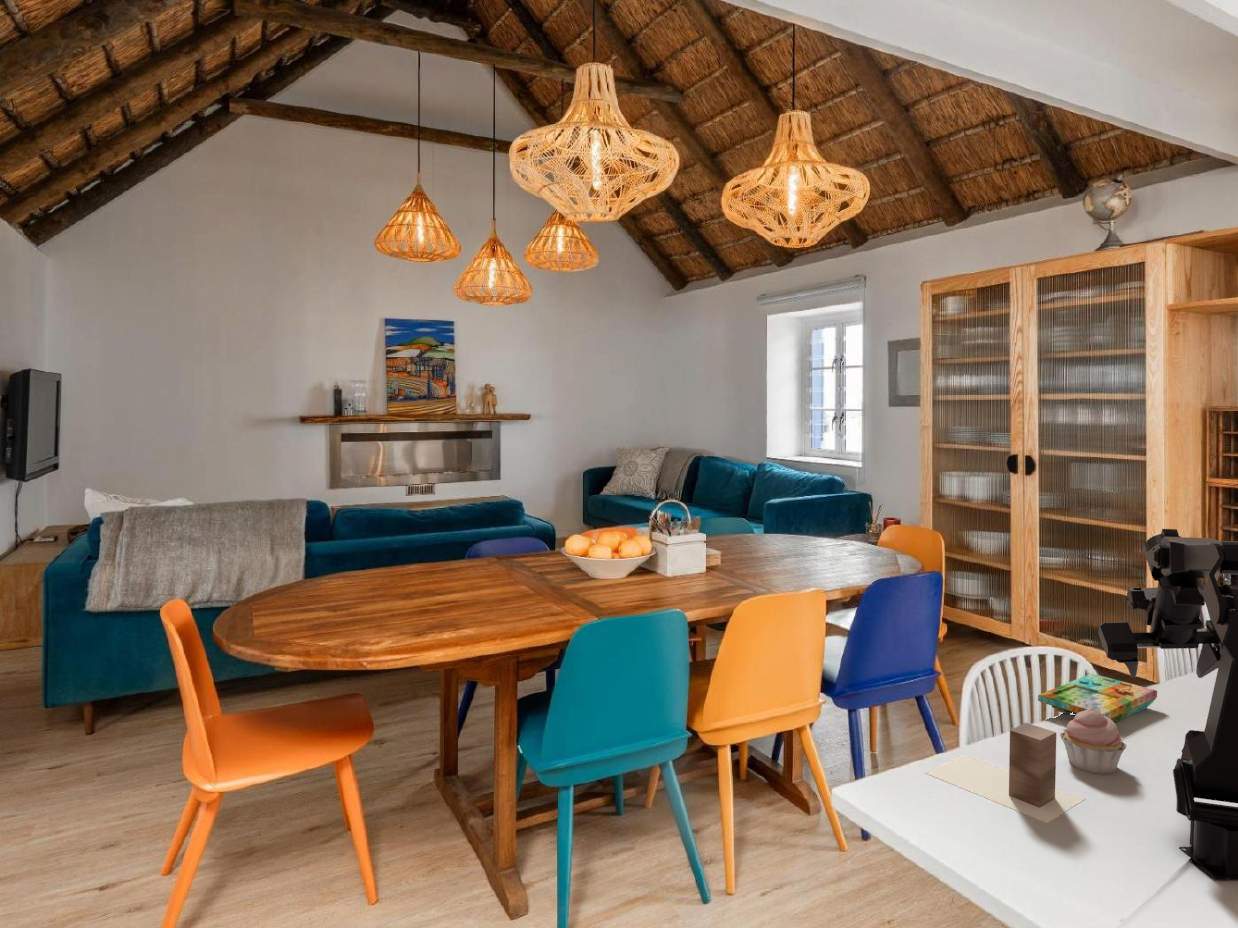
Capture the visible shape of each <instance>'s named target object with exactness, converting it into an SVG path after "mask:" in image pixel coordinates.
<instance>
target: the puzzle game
mask: <svg viewBox="0 0 1238 928" xmlns="http://www.w3.org/2000/svg"><path fill="white" fill-rule="evenodd" d="M1157 698H1158V690H1156V689H1152V688H1148V687H1145V686H1141V685H1137V684H1133V683H1130V682H1126V681H1122V680H1118V679H1114V678H1110V677H1106V676H1104V675H1103V676H1102V675H1098V674H1094V673H1092V672H1091V673H1088V674H1086V675H1084V676H1081V677H1079V678H1077V679H1074V680H1071V681H1069V682H1066V683H1065V684H1062V685H1060V686H1057V687H1055V688H1052V689H1050V690H1047V691H1044V692H1043V693H1040V694H1038V696H1037V702H1038V701H1039V702H1040V703H1042V704H1045V705H1049V706H1051V707H1052V708H1053V709H1054V710H1055V711H1056V712H1060V713H1063V714H1066V715H1069V714H1070V713H1072V712H1073V714H1075V715H1076V714H1077V713H1079V712H1082V711H1085V710H1088V709H1090V708H1091V707H1094V708H1096V709H1097V710H1098V711H1099V712H1100V713H1102V715H1103V716H1105V717H1107V718H1109V719H1111V720H1112V721H1113V722H1114V723H1115V724H1116V723H1118V722H1119V721H1123V720H1124V719H1126V718H1128V717H1131V716H1132V715H1134V714H1137V713H1139V712H1141V711H1143V710H1145V709H1148V707H1149V706H1151V705H1152V704H1153V703H1154V702H1155V700H1156V699H1157Z"/></svg>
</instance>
